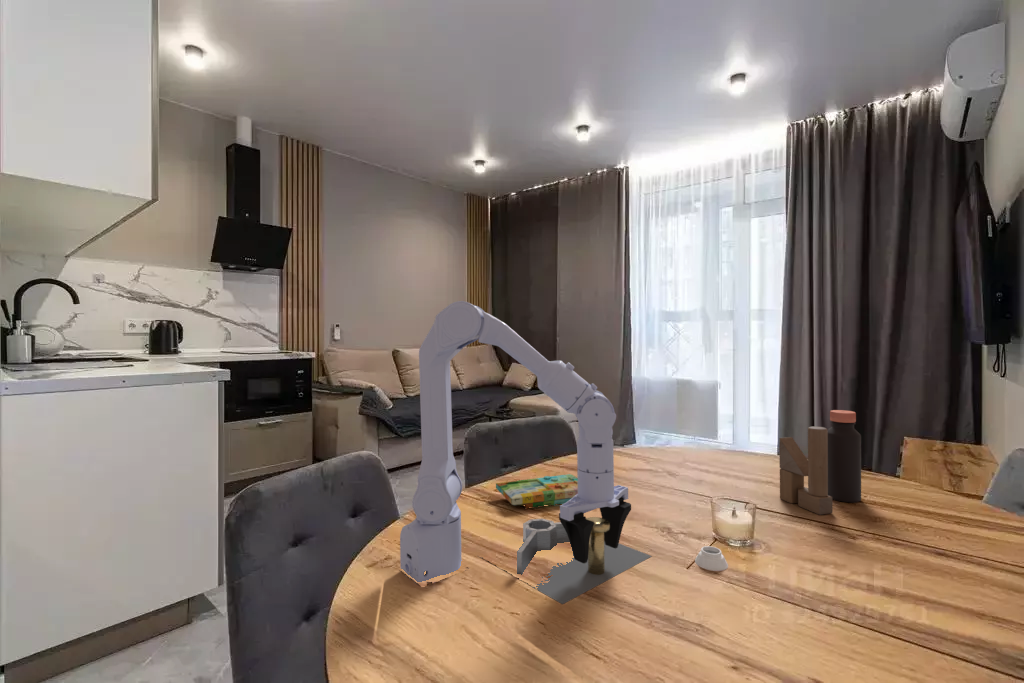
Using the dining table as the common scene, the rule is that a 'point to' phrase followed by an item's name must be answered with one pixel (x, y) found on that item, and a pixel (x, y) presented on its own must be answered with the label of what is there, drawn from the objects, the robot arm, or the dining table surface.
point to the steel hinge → (538, 540)
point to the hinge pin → (597, 545)
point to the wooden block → (806, 472)
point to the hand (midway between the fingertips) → (596, 553)
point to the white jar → (711, 559)
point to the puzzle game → (540, 490)
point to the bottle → (844, 457)
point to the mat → (588, 573)
